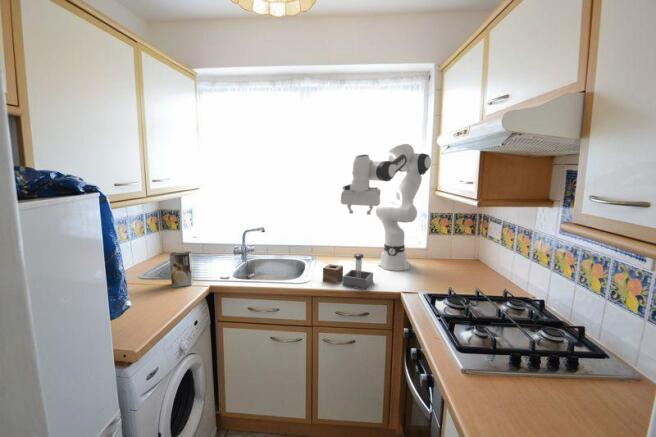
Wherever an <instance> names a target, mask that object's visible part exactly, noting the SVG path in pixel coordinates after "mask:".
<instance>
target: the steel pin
mask: <svg viewBox="0 0 656 437" xmlns="http://www.w3.org/2000/svg"><path fill="white" fill-rule="evenodd" d="M353 255H354V256H353V257H354V259H355V270H356V271H355V277H356V278H361V271H362V267H363V266H362V264H363V262H362V261H363V260H362V259H363V258H364V254H363V253H355V254H353Z"/></svg>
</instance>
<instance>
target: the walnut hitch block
mask: <svg viewBox="0 0 656 437" xmlns="http://www.w3.org/2000/svg"><path fill="white" fill-rule="evenodd" d="M343 276H344V265H339V264H332V263H331V264H330V263H328V264H326V266H324V267H322V281H323V282H326V283H334V284H338V283H340V281H343Z"/></svg>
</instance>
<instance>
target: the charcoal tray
mask: <svg viewBox="0 0 656 437" xmlns="http://www.w3.org/2000/svg"><path fill="white" fill-rule="evenodd" d="M355 271H356V269H350V270H349V271H347V272H346V273H345V274H343V279H342V286H343V287H348V288H349V287H350V288H354V289H360V290H367V289H369V287H370V286H371V285H372V283H373V282H374V272H373V271H371V272H370V271H363V270H361V278H356V277H355Z"/></svg>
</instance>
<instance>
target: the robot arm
mask: <svg viewBox="0 0 656 437" xmlns="http://www.w3.org/2000/svg"><path fill="white" fill-rule="evenodd" d="M385 158H386V160H385V161H373V160H372V159H371V158H370V156H369V154H366V153H363V154H358V155H355V156H354V157H353V159H352V166H351V167H352V168H351V172H352V179H351V183H349V184H345V185H343V186H342V192H341V196H340V203H341V205H346V207H347V209H348V212H349V214H354V210H353V209H352V206H368V208H369V210H367V211H366V215H367V216H368V215H369V216H370V215H371V214H372V212H371V211H372V210H373V208H374V207H376V208H375V214H376V216H377V218H378V219H379V220H380V221H381V223H382V226H383V228H384V237H385V238H384V244H383V250H384V251H382V252H381V253H380V262H379V263H378V264H377V265H378V267H381V268H382V269H384V270H387V271H396V272H397V271H409V270H410V262H409V261H408V260H407V253H406V251H405V250H406V246H405V231H404V229H403V228H401V227H400V226H399V223H405V224H406V223H413V222H414V221H416V218H417V217H418V210H417V208H416V206H415V205H414V199H415V197H416V195H417V192H418V190H419V189H420V187H421V183H422V180H423V177H422V176H423V175H425V174H426V172H427V171H429V170H430V167H431V164H432V159H431V156H430V155H429V154H427V153H422V152H421V153H418V152H417V153H415V150H414V148H413V146H412V145H411V144H409V143H403V144H399V145H397V146H395V147H393V148H391V149H389V151H387V153H386V157H385ZM398 172H402V173H403V172H405V173H406V175H405V176H404V178H402V181H401V183H400V184H399V186H398V187H397V190H396V191H395V196H396V198H397V200H398V201H397V202H390V201H383V202H381V189H380V188H379V187H374V186H373V187H372V186H370V181H379V182H380V181H381V182H390V181H392V179H393V178H394V177H395V175H396V174H397V173H398Z"/></svg>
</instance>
